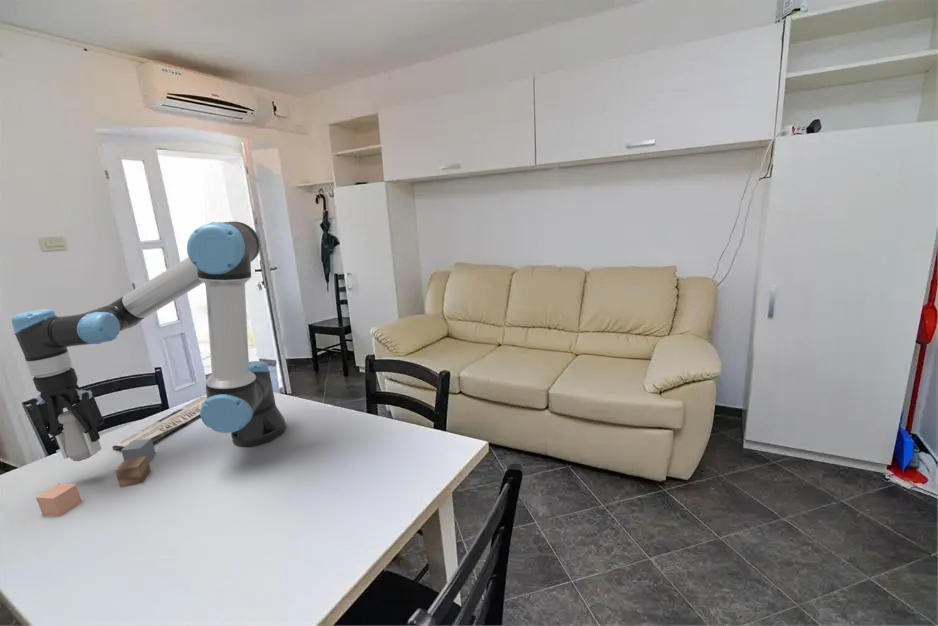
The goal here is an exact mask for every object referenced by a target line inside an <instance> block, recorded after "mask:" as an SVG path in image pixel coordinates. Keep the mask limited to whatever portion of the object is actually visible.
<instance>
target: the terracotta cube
mask: <svg viewBox="0 0 938 626" xmlns="http://www.w3.org/2000/svg"><path fill="white" fill-rule="evenodd" d="M35 499H36V502H37V504H38V506H39V509H40V512H41V515H42V516H48V517H49V516H51V517H62V516H63V515H65V514H66V513H67V512H69V511H71V510H72V509H73V508H76V506H78V505H80V504H82V502H83V500H82V497H81V495H80V491H79V489H78V486H77V484H74V483H58V484H56V485H54V486H53V487H51V488H49V489H47V490H46V491H44V492H43V493H40V494H39V495H37V496H36V497H35Z"/></svg>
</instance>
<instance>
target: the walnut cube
mask: <svg viewBox="0 0 938 626" xmlns="http://www.w3.org/2000/svg"><path fill="white" fill-rule="evenodd" d="M114 472H115V475H116V479H117V481H118V485H119V487H120V488H125V487H129V486H136V485H140V484H143V483H144V482H145V481H146V479H147V478H148V477H149V476H150V474H151V473H152V470H151V466H150V463H149V460H148V459H147V456H143V457H138V458H132V459H127V460H124V459H123V461H122V463H121V464H119V466H118V467H117V468H116V469H115V470H114Z"/></svg>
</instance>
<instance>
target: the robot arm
mask: <svg viewBox="0 0 938 626" xmlns="http://www.w3.org/2000/svg"><path fill="white" fill-rule="evenodd" d="M186 244H187V245H186V253H187V255H188V256H187V257H186V258H185V259H183V260H181V261H180V262H178V263H176V264H174V265H173V266H171V267H170V268H168V269H166V270H165V271H163V272H162V273H160V274H158V275H156V276H154V277H153V278H151V279H149V280H148V281H147V282H145V283H143V284H142V285H140V286H137V288H135V289H132V291H129V292H128V293H127V294H124V295H123V296H121V297H120V298H117V300H114V301H113V302H112V303H109V304H107V305H105V306H102V307H98V308H96V309H92V310H90V311H86V312H83V313H79V314H73V315H65V316H57V314H56V312H55V311H54V309H51V308H45V309H43V308H42V309H36V310H35V309H34V310H29V311H24V312H20V313H17V314H14V315H13V316H12V317H11V325H12V329H13V331H14V332H13V334H14V335H15V337H16V339H17V342H18V344H19V346H20V349H21V351H22V353H23V356H24V359H25V362H26V366H27V368H28V370H29V375H30V376H32V377H33V378H32V381H33V384H34V386H35V389H36V391H37V392H39V393H40V394H39V395H37V396H35V397H33V398H30V399H29V400H28V402H29V404H30V406H31V407H32V408H33V410H34V414H35V416H36V418H37V419H36V420H37V423H38V426H39V429H40V433H41V435H43V436H45V435H50V436H52V437H53V440H54V443H55V445H56V446H57V447H59V450H60V452H61V455H62V458H63V459H64V460H65V459H68V458H69V457H68V456H67V455H66V448H65V437H64V427H63V424H61V423H59V421H58V416H59V415H60V414H61V413H63V412H64V408H65V409H66V410H67V411H71V412H72V413H73V414H74V416H75V417H76V418H77V420H78V421H79V422H80V424H81V425H82V426H83V428H84V429H85V430H86V431H84V433H83V435H84V438H85V441H86V443H87V446H88V449H89V452H90V454H91V455H92V456H94V455H96V454H97V453H99V452H100V451H101V450H102V446H101V443H100V438H101V436H100V433H99V430H98V428H99V427H100V426H103V425H104V424H105V421H104V418H103V416H102V414H101V411H100V408H99V406H98V404H97V401H96V398H95V390H94V389H92V388H90V389H88V390H83V389H81V388H80V387H79V385H78V381H79V380H78V376H77V373H76V370H75V368H74V367H73V362H72V360H71V357H70V354H69V351H68V347H76V346H84V345H85V346H86V345H99V344H102V343H107V342H112V341H113V340H116V339H117V337H118V335H119V334H120V332H122V331H124V330H126V329H130V328H133V327H135V326H137V325H138V324H140V323H141V321H143V319H145V318H147V317H149V316H150V315H151V314H153V313H156V312H157V311H159V310H160V309H162V308H163V307H165V306H167V305H168V304H171V303H172V302H174V301H175V300H177V299H178V298H180V297H182V296H184V295H185V294H188V293H189V292H190V291H192V290H194V289H196V288H197V287H199V286H200V285H202V284H204V285H205V292H206V294H205V295H206V307H207V308H206V309H207V324H208V336H209V337H208V339H209V351H210V352H209V353H210V364H211V365H210V366H211V375H210V376H208V377H207V378H206V379H205V395H207V399H206V400H205V401H204V402H203V404H202V407H201V409H200V415H199V416H200V419H201V421H202V423H203V424H204V425H205V426H206V427H207V428H210V429H211V430H212V431H214V432H217V433H223V434H230V435H231V436H230V437H231V441H232V443H233V444H234V445H236V447H237V446H238V447H243V448H244V447H245V448H248V447H254V446H260V445H263V444H266V443H268V442H271V441H273V440H275V439H276V438H278V437H280V436H281V435H282V434H284V432H285V431H286V430H287V424H286V419H285V417H284V416H283V414H282V413H281V411H280V410H279V408H278V407H277V405H276V399H275V395H274V390H273V383H272V378H271V370H270V369H269V364H268V363H267V362H266V361H262V360H254V361H252V360H251V361H249V360H250V359H249V340H248V321H247V318H248V317H247V300H246V283H247V282H248V281H250V280H251V279H252V265H251V264H252V262H253V261H254V260H255V259H256V258H257V257H258V255H259V253H260V251H261V240H260V237H259V235H258V232H256V231H255V230H254V228H252V227H251V226H249V224H246V223H244V222H240V221H218V222H217V221H216V222H215V221H214V222H208V223H206V224H203V225H201V226H199V227H197V228H195V230H194V231H192V233H191V234H190V235H189V238H188V240H187V243H186Z"/></svg>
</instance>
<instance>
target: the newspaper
mask: <svg viewBox="0 0 938 626" xmlns="http://www.w3.org/2000/svg"><path fill="white" fill-rule="evenodd" d="M204 396H206V397H204ZM199 398H200V399H199ZM206 399H207V395H206V394H205V395H202V396H200V397H198V398H197V399H194V400H195V401H194V400H192V401H191V402H189V403H188V404H186V405H184V406H182V407H180V408H179V409H177V410H175V411H173V412H172V413H170V414H168V415H166V416H164V417H163V418H161V419H159V420H156V422H153V423H152V424H150V425H148V426H147V427H144V428H143V429H141V430H139V431H137V432H136V433H133V434H132V435H130V436H129V437H127V438H125V439H124V440H123V439H122V440H121V441H120V442H118V443H116V444H114V445H112V447H111V448H112V450H113V451H114V450H119V449H120V450H122V449H123V448H124V447H126V446H127V445H128V444H129V443H131V442H132V441H134V440H143V439H152V442H153V444H154V443H156V442H157V441H158V440H159V439H162V438H163V437H165V436H166V435H168V434H170V433H171V432H174V431H176V430H177V429H178V428H180V427H182V426H183V425H185V424H187V423H188V422H190V421H192V420H193V419H196V418H197V417H198V416H200V409H201V407H202V404H203V402H204V401H205V400H206Z"/></svg>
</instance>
